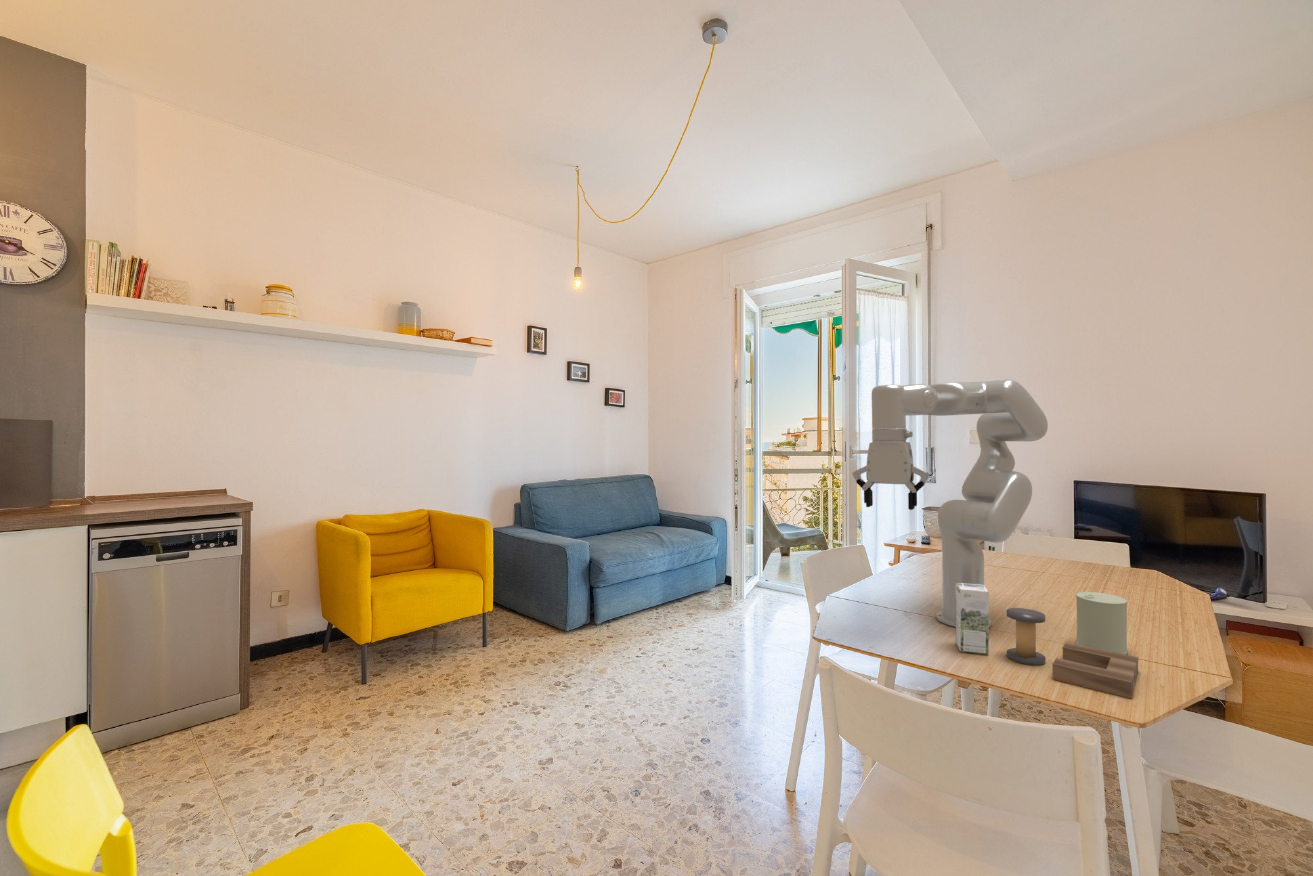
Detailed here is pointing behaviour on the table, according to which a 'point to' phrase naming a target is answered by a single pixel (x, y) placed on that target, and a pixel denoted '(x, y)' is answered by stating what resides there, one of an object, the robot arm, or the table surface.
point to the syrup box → (972, 618)
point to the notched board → (1097, 669)
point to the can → (1102, 621)
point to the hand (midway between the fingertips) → (890, 507)
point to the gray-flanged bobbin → (1026, 636)
